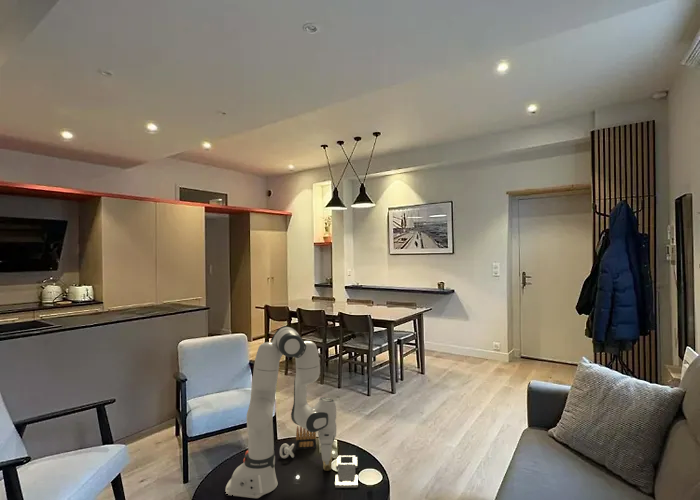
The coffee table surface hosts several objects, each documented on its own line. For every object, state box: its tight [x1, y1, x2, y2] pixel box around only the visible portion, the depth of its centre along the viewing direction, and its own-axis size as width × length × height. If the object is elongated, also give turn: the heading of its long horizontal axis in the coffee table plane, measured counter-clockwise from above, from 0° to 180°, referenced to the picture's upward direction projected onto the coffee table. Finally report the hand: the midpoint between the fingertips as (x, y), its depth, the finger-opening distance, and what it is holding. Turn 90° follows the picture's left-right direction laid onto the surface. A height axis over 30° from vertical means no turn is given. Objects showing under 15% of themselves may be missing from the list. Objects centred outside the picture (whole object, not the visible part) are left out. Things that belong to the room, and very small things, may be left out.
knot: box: [279, 443, 296, 459], centre depth 203 cm, size 8×8×6 cm
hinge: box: [334, 455, 359, 489], centre depth 187 cm, size 10×24×6 cm, turn 0°
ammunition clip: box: [295, 425, 317, 450], centre depth 211 cm, size 11×2×12 cm, turn 96°
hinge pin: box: [322, 450, 333, 472], centre depth 190 cm, size 4×4×9 cm
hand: (327, 460), depth 190 cm, fingers closed on hinge pin, 4 cm apart
